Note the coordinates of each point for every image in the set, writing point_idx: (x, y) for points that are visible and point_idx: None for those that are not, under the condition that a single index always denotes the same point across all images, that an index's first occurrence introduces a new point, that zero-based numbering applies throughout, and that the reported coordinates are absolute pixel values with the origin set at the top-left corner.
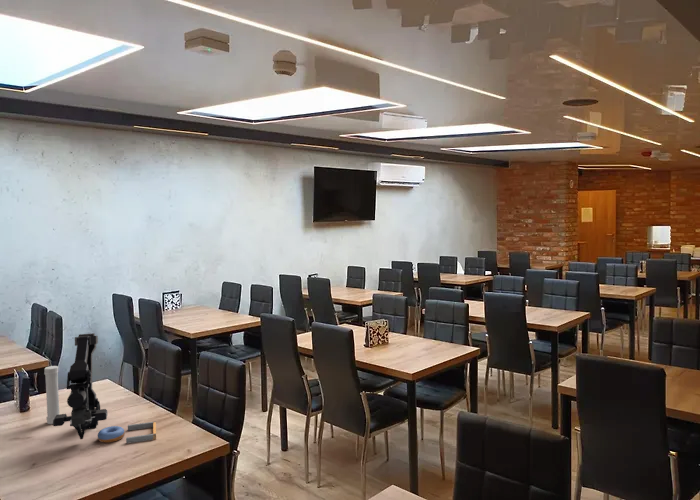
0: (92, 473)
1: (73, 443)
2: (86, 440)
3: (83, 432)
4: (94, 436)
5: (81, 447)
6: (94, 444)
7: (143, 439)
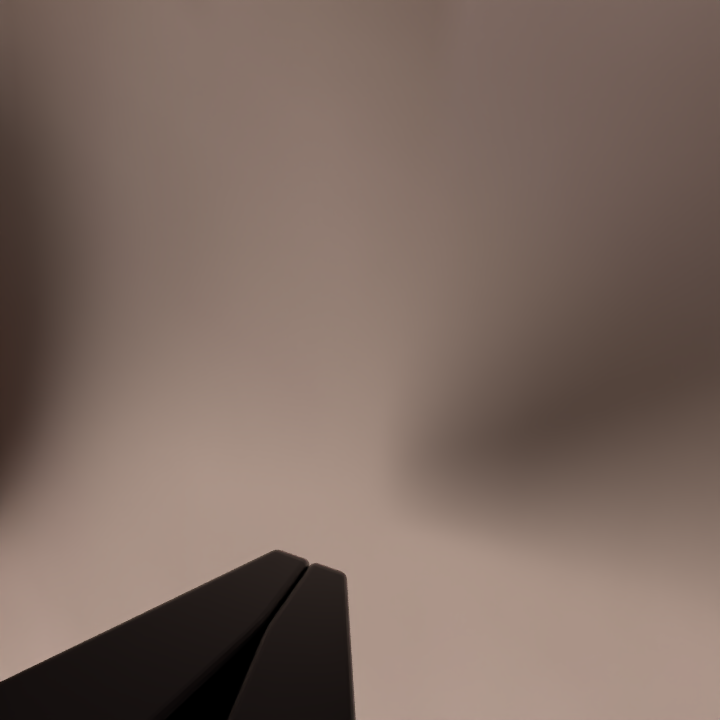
0: None
1: (564, 632)
2: None
3: (93, 679)
4: None
5: (401, 141)
6: (51, 165)
7: None
